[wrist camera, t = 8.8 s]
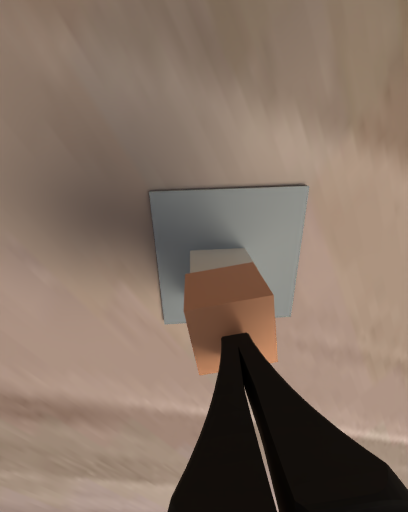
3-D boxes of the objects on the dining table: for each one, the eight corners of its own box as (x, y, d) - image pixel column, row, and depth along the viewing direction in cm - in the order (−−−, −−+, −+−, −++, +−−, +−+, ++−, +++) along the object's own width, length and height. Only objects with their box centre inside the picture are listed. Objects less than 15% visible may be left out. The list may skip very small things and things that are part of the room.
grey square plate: (306, 185, 18) (309, 186, 17) (288, 313, 22) (290, 316, 22) (150, 191, 17) (148, 191, 17) (165, 320, 22) (164, 324, 21)
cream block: (244, 248, 19) (258, 268, 15) (242, 294, 20) (254, 323, 17) (190, 250, 19) (190, 272, 15) (192, 297, 20) (193, 327, 17)
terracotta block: (252, 261, 15) (273, 294, 11) (258, 317, 17) (277, 361, 13) (185, 273, 15) (183, 310, 11) (197, 327, 17) (199, 375, 13)
